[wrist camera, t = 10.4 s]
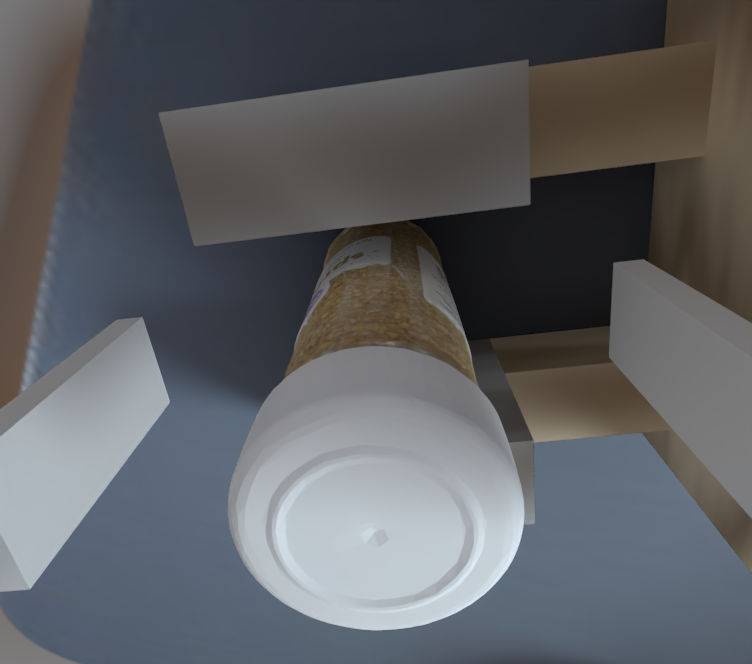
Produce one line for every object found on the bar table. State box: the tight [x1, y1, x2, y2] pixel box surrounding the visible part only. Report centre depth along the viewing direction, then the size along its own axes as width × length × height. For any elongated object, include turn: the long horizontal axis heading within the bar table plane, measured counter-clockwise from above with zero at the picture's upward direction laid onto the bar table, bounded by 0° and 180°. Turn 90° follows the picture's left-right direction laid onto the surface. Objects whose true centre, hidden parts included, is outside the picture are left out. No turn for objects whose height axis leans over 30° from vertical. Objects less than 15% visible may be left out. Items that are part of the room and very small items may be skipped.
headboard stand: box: [158, 0, 752, 573], centre depth 13 cm, size 16×16×14 cm
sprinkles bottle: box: [228, 220, 525, 630], centre depth 14 cm, size 5×5×14 cm
